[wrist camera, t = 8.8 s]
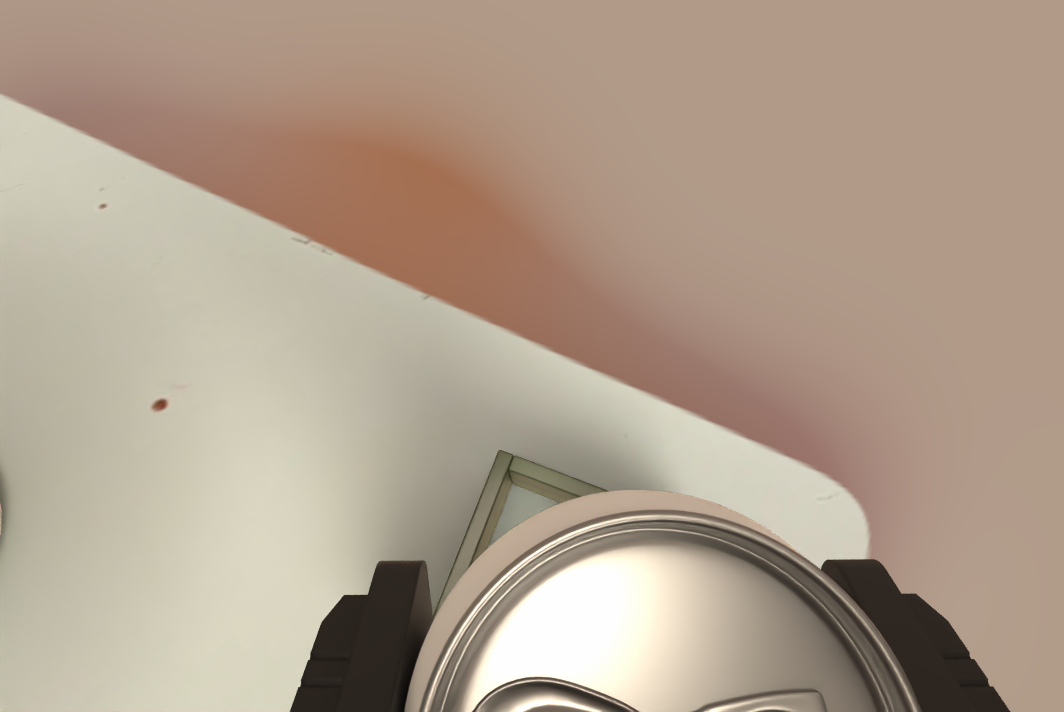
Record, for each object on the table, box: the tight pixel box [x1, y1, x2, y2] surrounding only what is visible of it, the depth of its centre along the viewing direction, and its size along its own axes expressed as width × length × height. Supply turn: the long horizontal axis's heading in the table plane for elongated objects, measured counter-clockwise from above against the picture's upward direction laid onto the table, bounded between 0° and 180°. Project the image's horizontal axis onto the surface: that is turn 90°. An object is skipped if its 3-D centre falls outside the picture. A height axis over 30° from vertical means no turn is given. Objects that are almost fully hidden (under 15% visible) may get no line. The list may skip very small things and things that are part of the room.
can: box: [404, 490, 923, 712], centre depth 12 cm, size 6×6×12 cm
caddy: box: [433, 450, 609, 621], centre depth 25 cm, size 9×9×5 cm
